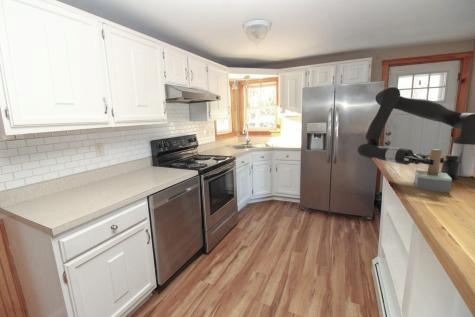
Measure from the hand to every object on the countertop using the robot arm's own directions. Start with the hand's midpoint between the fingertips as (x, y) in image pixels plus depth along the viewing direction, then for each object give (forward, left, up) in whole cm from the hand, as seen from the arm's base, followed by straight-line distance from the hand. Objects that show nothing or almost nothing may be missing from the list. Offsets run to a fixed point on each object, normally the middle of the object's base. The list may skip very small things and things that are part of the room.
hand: (438, 161), depth 100 cm
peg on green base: (+1, -1, -8) cm, 8 cm away
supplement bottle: (-23, -17, -13) cm, 32 cm away
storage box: (+1, -1, -13) cm, 13 cm away
